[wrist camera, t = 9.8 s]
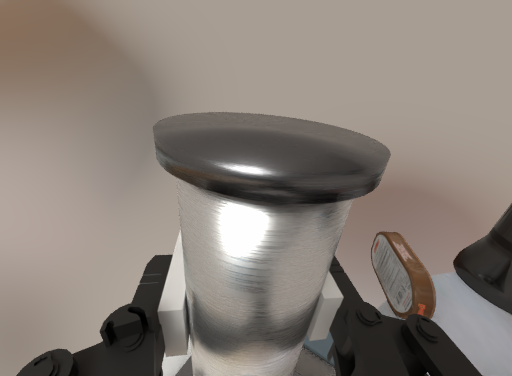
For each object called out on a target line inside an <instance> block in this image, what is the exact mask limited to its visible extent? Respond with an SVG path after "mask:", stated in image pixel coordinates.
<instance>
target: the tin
mask: <svg viewBox="0 0 512 376" xmlns="http://www.w3.org/2000/svg"><path fill="white" fill-rule="evenodd" d="M371 259H372V265H373V268H374V270H375V273H376V275H377V277H378V280H379V282H380V284H381V286H382V289H383V291H384V293H385V295H386V298H387V300H388V302H389V305H390V306H391V308H392V310H393V311H394V312H395V314H396V315H398V316H399V317H401V318H404V319H406V318H407V317H408V315H410V314H420V315H422V316H425V317H427V318H429V319H431V318H432V316H433V314H434V311H435V306H436V294H435V288H434V284H433V281H432V279H431V277H430V275H429V273H428V271H427V270H426V268H425V267H424V266H423V264H422V263H421V262H420V260H419V259H418V257H417V256H416V255H415V253H414V252H413V250H412V249H411V248H410V246H409V245H408V243H407V242H406V241H405V239H404V238H403V237H402V236H401V235H400V234H399V233H396V232H379V233H377V235H376V237H375V239H374V243H373V246H372V248H371Z"/></svg>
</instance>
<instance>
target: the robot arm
mask: <svg viewBox="0 0 512 376" xmlns="http://www.w3.org/2000/svg"><path fill="white" fill-rule="evenodd" d="M453 265H454V268H455V270H456V272H457V273H458V275H459V276H460V277H461V278H462V279H463V280H464V281H465V282H466V283H467V284H468V285H469V286H470V287H471V288H472V289H474V290H475V291H476V292H477V293H479V294H480V295H481V296H483V297H484V298H486V299H487V300H489V301H490V302H492V303H493V304H495V305H497V306H498V307H500V308H502V309H504V310H505V311H507V312H509V313H511V314H512V203H511V205H510V206H509V207H508V209H507V210H506V211H505V212H504V214H503V215H502V216H501V218H500V219H499V220H498V222H497V223H496V224H495V226H494V227H493V228H492V230H491V231H490V232H489V234H488V235H486V236H485V237H483V238H481V239H480V240H478V241H477V242H475V243H473V244H471V245H470V246H468V247H466V248H465V249H463V250H462V251H460V252H459V254H458V255H457V256H456V258H455V260H454V262H453ZM329 331H330V334H331V336H332V338H333V343H332V346H331V348H330V350H329V352H328V354H327V361H330V360H331V358H332V356H333V360H334V365H335V370H336V376H428V375H427V372H428V373H429V375H430V376H482V375H481V374H480V372H479V371H478V370H477V369H476V368H475V367H474V366H473V364H472V363H471V362H470V361H469V360H468V359H467V357H466V356H465V355H464V354H463V353H462V352H461V351H460V349H459V348H458V347H457V346H456V345H455V344H454V342H453V341H452V340H451V339H450V338H449V337H448V336H447V334H446V333H445V332H444V331H443V330H442V329H441V328H440V327H439V326H438V325H437V324H436V323H435V322H433V321H432V320H430V319H429V318H427V317H425V316H422V315H420V314H410V315H408V317H407V318H406V320H400V319H396V318H392V317H388V316H385V315H382V314H381V313H380V312H379V311H378V310H377V309H376V308H375V307H374V306H372V305H370V304H369V303H367V302H364V301H363V300H362V298H361V297H360V295H359V294H358V292H357V290H356V289H355V287H354V286H353V284H352V282H351V281H350V279H349V278H348V276H347V275H346V273H344V270H343V268H342V267H341V266H340V264H339V262H338V260H337V259H336V257H335V256H334V257H333V260H332V263H331V265H330V268H329V271H328V274H327V277H326V280H325V283H324V286H323V289H322V291H321V294H320V297H319V300H318V303H317V306H316V309H315V312H314V315H313V317H312V320H311V323H310V326H309V329H308V332H307V336H308V339H309V341H312V340H321V339H326V338H327V335H328V333H329ZM100 334H101V336H102V339H103V342H101V343H99V344H96V345H94V346H92V347H89V348H87V349H84V350H81V351H79V352H76V353H74V354H71V353H70V352H69V351H68V350H67V349H56V350H52V351H48V352H46V353H44V354H42V355H40V356H38V357H37V358H35V359H34V360H32V361H31V362H30V363H28V364H27V365H26V366H25V367H24V368H22V370H21V371H20V372H19V373H18V374H17V376H163V371H162V362H163V357H164V352H165V354H166V357H169V356H178V355H187V350H188V342H189V334H190V333H189V321H188V309H187V297H186V285H185V274H184V262H183V250H182V238H181V228H180V232H179V236H178V239H177V243H176V247H175V250H174V254H173V255H155V256H154V257H153V258H152V260H150V262H149V263H148V264H147V266H146V268H145V271H144V273H143V276H142V278H141V280H140V285H139V286H138V288H137V290H136V293H135V295H134V298H133V301H132V303H131V304H127V305H125V306H122V307H120V308H118V309H117V310H115V311H114V312H113V313H111V314H110V315H109V317H108V318H107V319H106V320H105V321H104V323H103V325H102V327H101V329H100Z"/></svg>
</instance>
